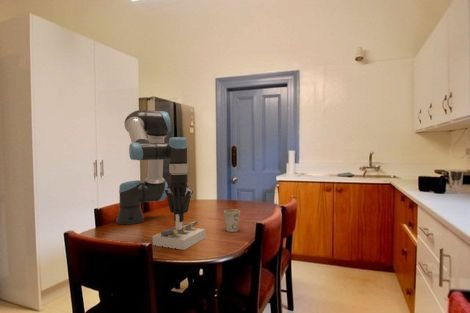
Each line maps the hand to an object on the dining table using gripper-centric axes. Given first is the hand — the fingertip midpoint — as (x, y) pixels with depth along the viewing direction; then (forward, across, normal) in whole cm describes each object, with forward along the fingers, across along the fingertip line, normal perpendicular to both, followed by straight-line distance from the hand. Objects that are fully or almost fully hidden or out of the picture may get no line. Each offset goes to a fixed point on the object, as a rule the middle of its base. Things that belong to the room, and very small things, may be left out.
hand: (179, 229), depth 125 cm
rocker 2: (+1, -4, +6) cm, 7 cm away
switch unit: (+7, -4, +6) cm, 10 cm away
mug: (+8, +9, +33) cm, 35 cm away
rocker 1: (+1, -4, 0) cm, 4 cm away
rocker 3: (+1, -4, +12) cm, 13 cm away
